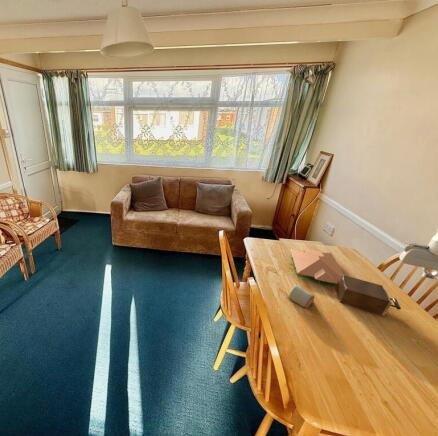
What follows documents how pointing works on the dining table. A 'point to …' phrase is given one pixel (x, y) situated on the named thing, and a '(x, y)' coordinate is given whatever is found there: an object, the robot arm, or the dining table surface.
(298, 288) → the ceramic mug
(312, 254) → the house
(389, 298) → the drawer
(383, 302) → the cabinet
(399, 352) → the dining table surface
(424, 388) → the dining table surface
